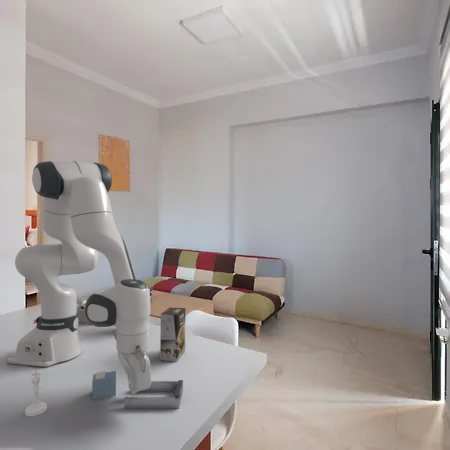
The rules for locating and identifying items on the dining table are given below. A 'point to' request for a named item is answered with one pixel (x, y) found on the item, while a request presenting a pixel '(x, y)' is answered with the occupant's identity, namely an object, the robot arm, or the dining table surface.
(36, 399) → the chess piece
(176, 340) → the coffee box
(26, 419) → the dining table surface
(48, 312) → the robot arm
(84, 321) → the digital camera
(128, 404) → the grey u-shaped piece
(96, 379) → the block
